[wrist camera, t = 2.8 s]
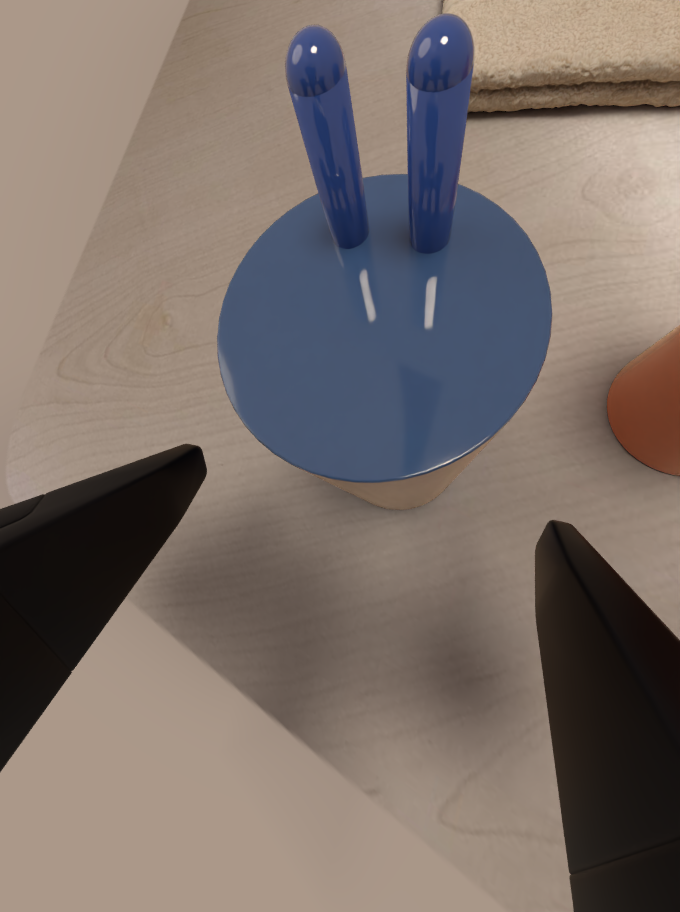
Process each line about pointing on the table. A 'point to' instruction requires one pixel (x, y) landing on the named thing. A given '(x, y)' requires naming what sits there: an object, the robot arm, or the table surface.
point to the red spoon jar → (650, 405)
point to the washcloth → (572, 52)
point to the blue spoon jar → (385, 293)
